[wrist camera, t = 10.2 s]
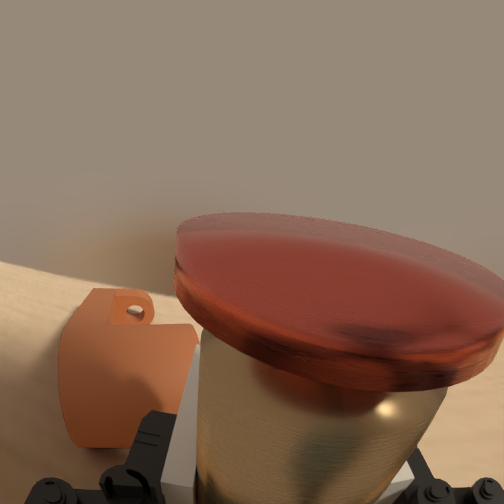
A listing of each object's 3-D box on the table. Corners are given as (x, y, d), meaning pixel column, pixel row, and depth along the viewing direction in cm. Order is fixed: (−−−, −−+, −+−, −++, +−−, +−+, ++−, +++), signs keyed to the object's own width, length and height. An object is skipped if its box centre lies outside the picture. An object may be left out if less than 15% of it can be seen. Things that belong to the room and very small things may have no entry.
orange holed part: (207, 464, 16) (213, 372, 14) (84, 470, 13) (49, 375, 11) (164, 320, 34) (165, 253, 32) (95, 321, 31) (91, 252, 29)
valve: (313, 500, 12) (415, 233, 8) (330, 598, 6) (586, 322, 2) (189, 494, 12) (199, 202, 8) (174, 598, 6) (71, 294, 2)
